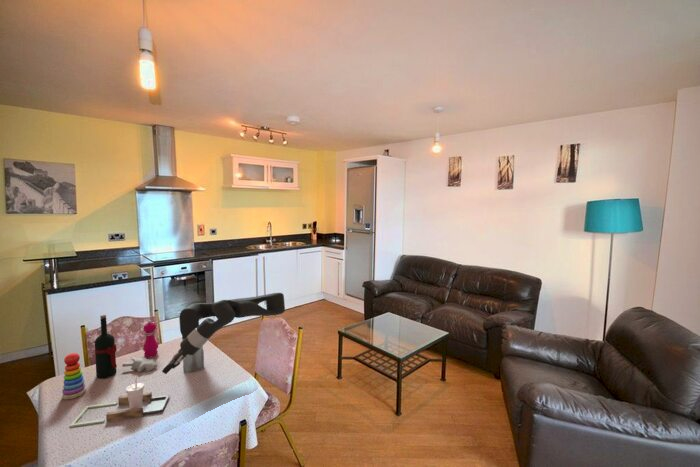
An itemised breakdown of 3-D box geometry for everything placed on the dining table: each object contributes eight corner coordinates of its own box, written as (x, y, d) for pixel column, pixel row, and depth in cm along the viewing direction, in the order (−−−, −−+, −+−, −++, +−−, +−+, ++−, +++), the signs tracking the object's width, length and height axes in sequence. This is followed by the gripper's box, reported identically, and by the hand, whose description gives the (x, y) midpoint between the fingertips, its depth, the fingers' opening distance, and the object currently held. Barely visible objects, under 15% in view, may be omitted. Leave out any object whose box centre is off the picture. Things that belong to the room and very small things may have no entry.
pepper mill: (142, 359, 170) (140, 323, 168) (144, 353, 176) (142, 319, 174) (158, 356, 173) (156, 321, 171) (159, 350, 179) (157, 317, 178)
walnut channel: (152, 398, 136) (151, 392, 136) (141, 416, 125) (141, 409, 124) (120, 402, 133) (119, 396, 133) (106, 421, 121) (106, 414, 121)
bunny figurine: (147, 367, 154) (120, 361, 156) (146, 377, 155) (119, 370, 157) (161, 358, 164) (135, 352, 165) (160, 367, 164) (135, 361, 166)
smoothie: (135, 415, 125) (134, 382, 124) (122, 412, 127) (120, 380, 125) (149, 405, 132) (147, 373, 130) (136, 403, 133) (134, 371, 132)
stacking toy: (90, 391, 140) (88, 351, 139) (69, 402, 133) (66, 359, 131) (78, 387, 143) (76, 348, 141) (57, 398, 135) (54, 356, 134)
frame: (117, 403, 133) (117, 401, 133) (103, 422, 121) (103, 420, 121) (86, 407, 130) (86, 405, 130) (69, 427, 118) (69, 425, 118)
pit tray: (169, 397, 137) (169, 395, 137) (162, 412, 127) (162, 409, 127) (151, 400, 135) (151, 397, 135) (142, 415, 125) (142, 412, 125)
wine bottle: (107, 381, 149) (104, 320, 146) (92, 377, 152) (88, 317, 149) (123, 372, 156) (120, 314, 153) (108, 369, 159) (105, 312, 156)
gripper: (199, 353, 127) (167, 386, 125) (205, 339, 140) (175, 369, 138) (184, 342, 125) (151, 375, 123) (191, 329, 138) (161, 359, 136)
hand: (164, 371), depth 131 cm, fingers closed
